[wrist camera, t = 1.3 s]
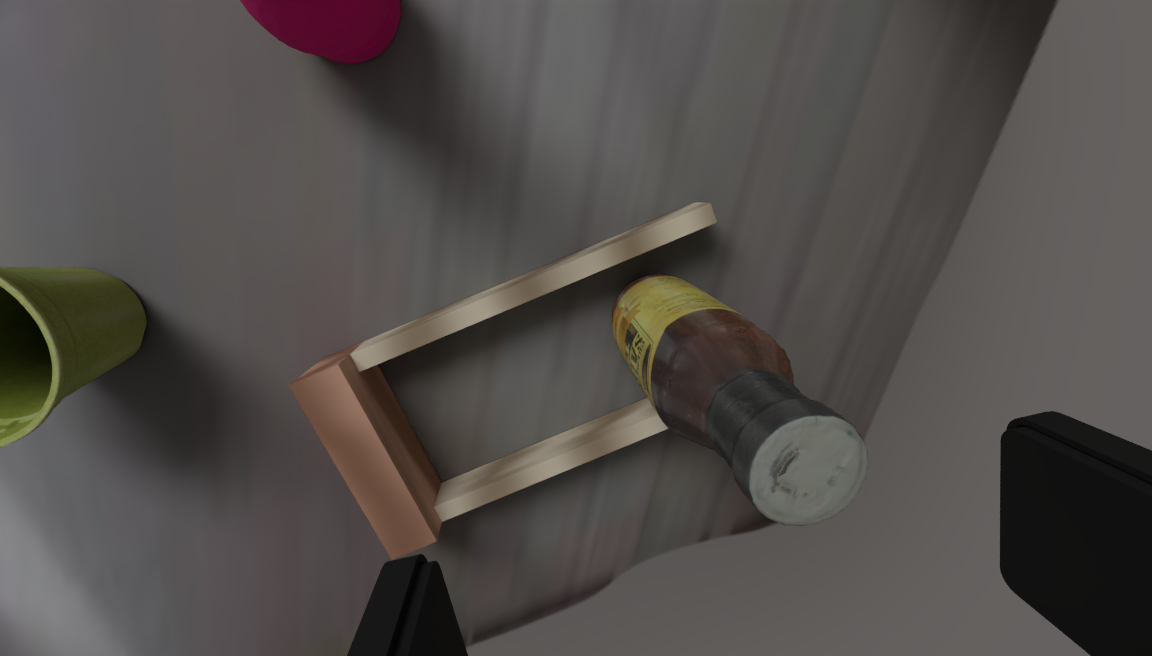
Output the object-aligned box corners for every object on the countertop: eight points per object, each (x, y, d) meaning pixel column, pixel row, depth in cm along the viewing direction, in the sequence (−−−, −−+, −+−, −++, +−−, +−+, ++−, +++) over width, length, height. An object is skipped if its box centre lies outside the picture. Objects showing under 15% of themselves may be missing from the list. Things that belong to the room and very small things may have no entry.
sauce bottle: (590, 303, 35) (663, 435, 16) (671, 252, 35) (848, 323, 15) (639, 382, 37) (761, 587, 17) (718, 334, 36) (929, 490, 17)
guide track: (695, 202, 34) (722, 203, 29) (751, 371, 37) (784, 397, 32) (322, 358, 34) (288, 385, 30) (409, 512, 38) (392, 559, 33)
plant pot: (-26, 279, 32) (-227, 309, 23) (115, 212, 31) (-36, 218, 23) (76, 411, 34) (-73, 482, 26) (208, 350, 34) (101, 401, 25)
